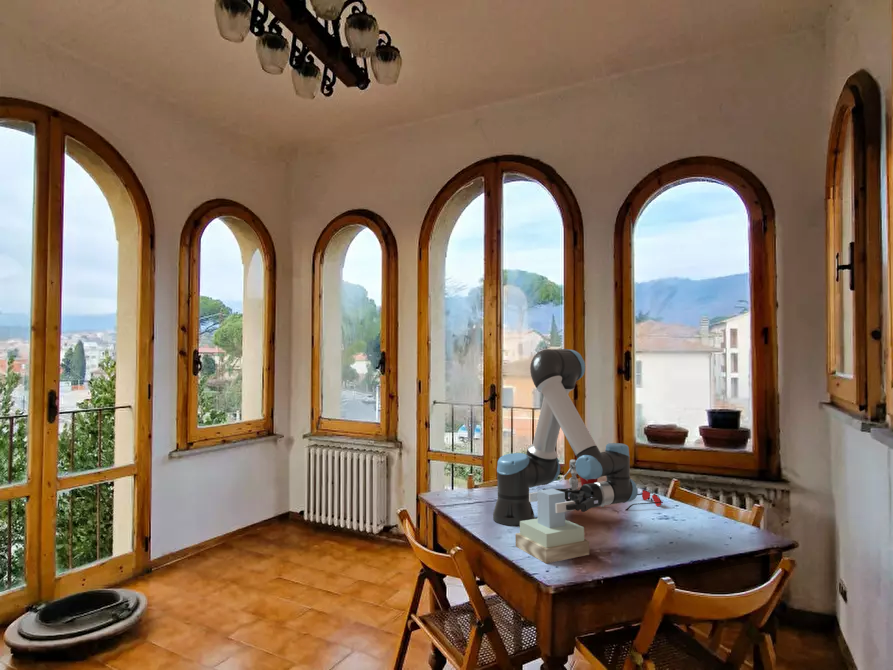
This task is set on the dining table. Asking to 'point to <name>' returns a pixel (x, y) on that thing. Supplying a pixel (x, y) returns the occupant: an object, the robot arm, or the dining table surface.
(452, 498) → the dining table surface
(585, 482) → the plastic cup
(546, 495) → the tall brick
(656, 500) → the glasses
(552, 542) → the top brick
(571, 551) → the base brick
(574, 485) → the human figurine
